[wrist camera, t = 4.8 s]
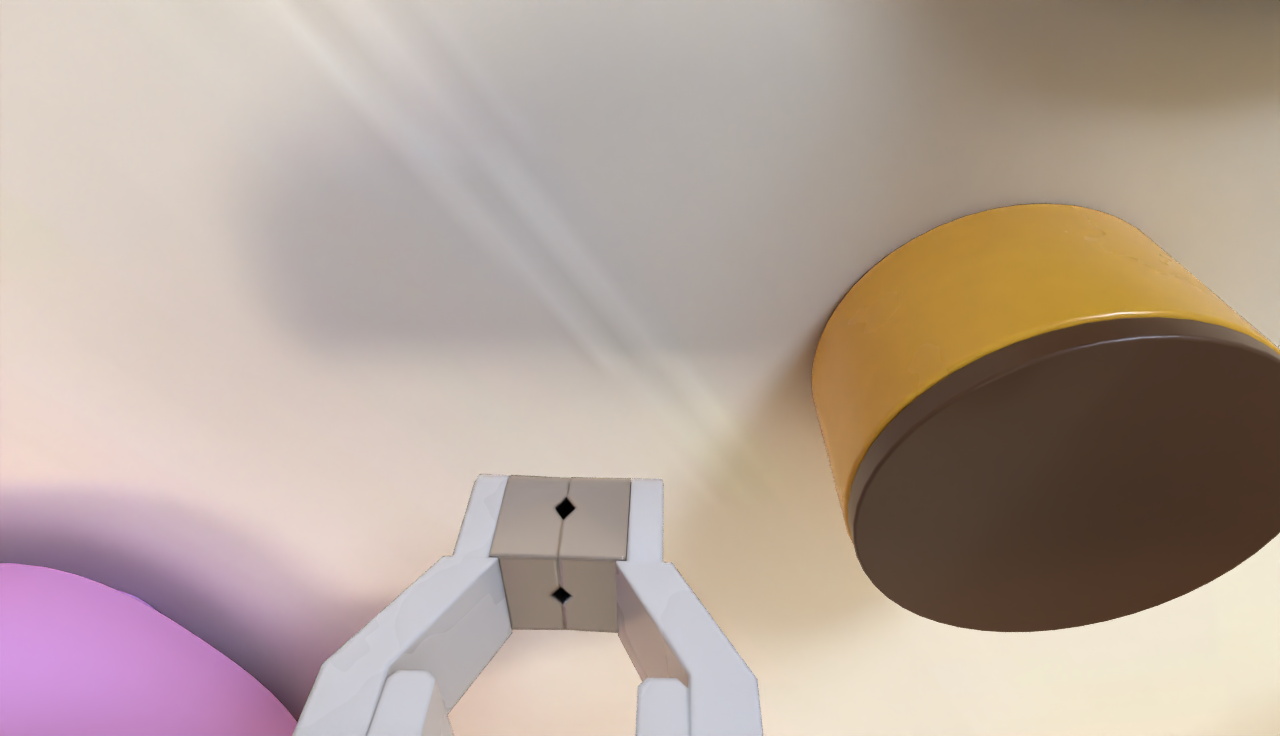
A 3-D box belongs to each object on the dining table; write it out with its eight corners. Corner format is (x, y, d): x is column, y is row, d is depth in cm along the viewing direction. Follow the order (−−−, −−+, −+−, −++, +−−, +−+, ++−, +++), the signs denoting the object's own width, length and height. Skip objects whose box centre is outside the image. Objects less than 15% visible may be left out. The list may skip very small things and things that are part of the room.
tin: (843, 198, 12) (905, 328, 9) (1251, 204, 12) (1459, 338, 9) (789, 475, 16) (818, 629, 13) (1089, 483, 16) (1191, 640, 13)
